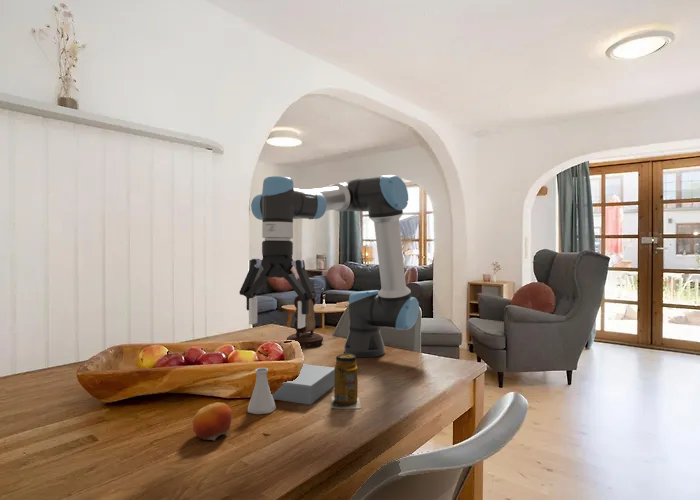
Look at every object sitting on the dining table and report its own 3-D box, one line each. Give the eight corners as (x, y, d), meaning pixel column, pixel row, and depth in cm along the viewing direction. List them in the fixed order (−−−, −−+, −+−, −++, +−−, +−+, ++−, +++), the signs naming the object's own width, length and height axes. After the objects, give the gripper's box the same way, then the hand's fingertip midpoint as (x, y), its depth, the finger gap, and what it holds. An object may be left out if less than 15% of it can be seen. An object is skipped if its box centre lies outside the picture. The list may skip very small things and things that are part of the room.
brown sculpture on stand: (308, 350, 165) (308, 298, 164) (279, 345, 172) (278, 295, 172) (330, 342, 177) (330, 294, 177) (301, 338, 185) (301, 292, 185)
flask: (279, 404, 110) (279, 365, 110) (272, 416, 103) (271, 374, 102) (252, 403, 111) (252, 364, 110) (242, 414, 103) (242, 373, 103)
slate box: (297, 379, 129) (297, 363, 129) (336, 384, 125) (336, 367, 125) (268, 398, 114) (268, 380, 114) (311, 405, 109) (311, 385, 109)
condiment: (358, 396, 115) (358, 352, 115) (360, 409, 107) (360, 361, 107) (331, 397, 115) (331, 352, 115) (331, 409, 107) (331, 361, 106)
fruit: (216, 442, 86) (202, 404, 88) (194, 454, 90) (181, 417, 92) (246, 427, 93) (232, 392, 95) (224, 439, 96) (212, 405, 98)
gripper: (225, 239, 107) (225, 324, 107) (317, 239, 99) (316, 332, 99) (243, 240, 114) (242, 319, 114) (329, 240, 106) (329, 326, 106)
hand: (276, 325), depth 106 cm, fingers open, 13 cm apart
